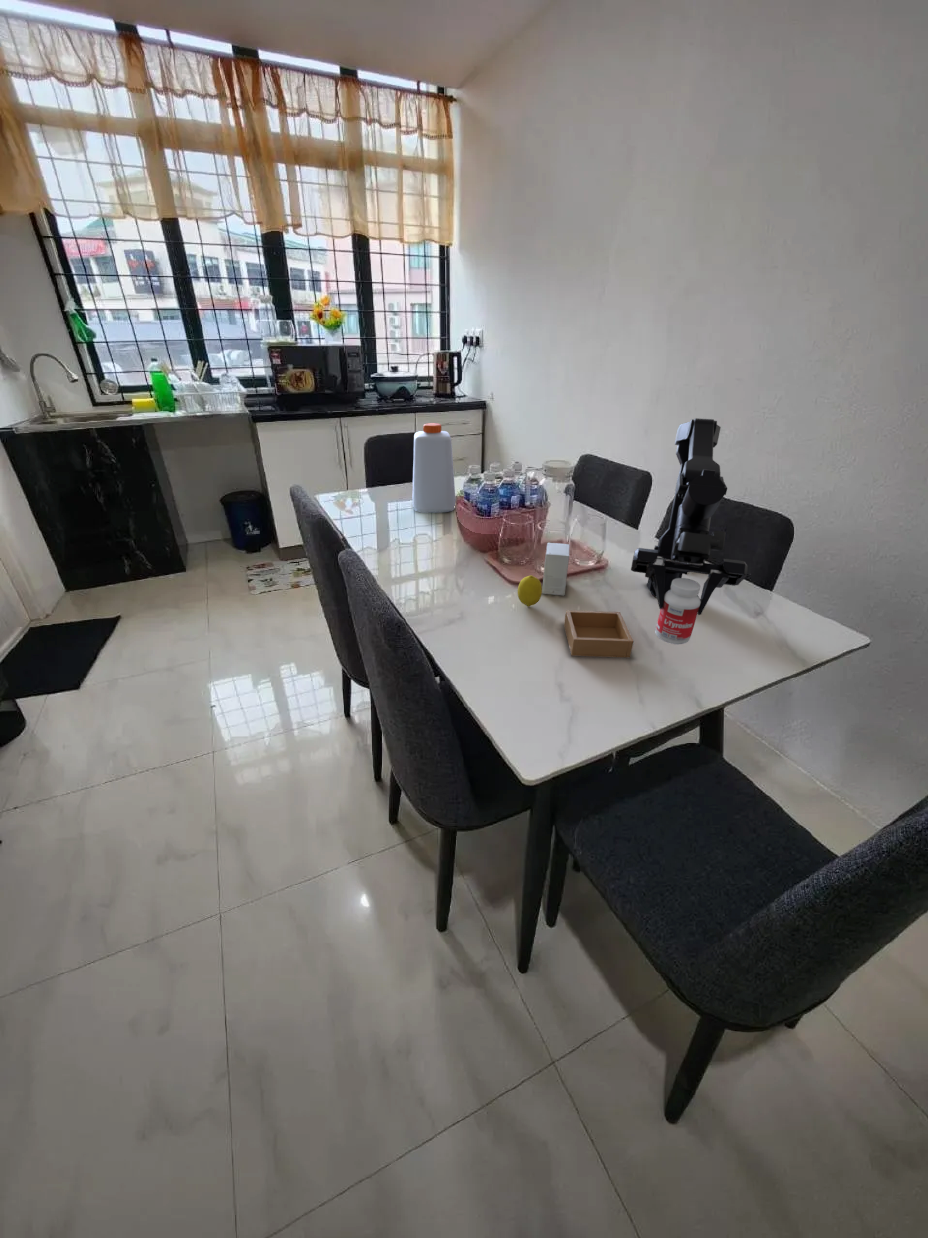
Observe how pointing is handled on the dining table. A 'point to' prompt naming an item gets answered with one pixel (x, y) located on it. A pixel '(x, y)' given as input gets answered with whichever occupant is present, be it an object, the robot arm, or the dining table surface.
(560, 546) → the small box
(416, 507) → the plastic bottle
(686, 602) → the pill bottle
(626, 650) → the open box
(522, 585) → the lemon
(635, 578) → the dining table surface
